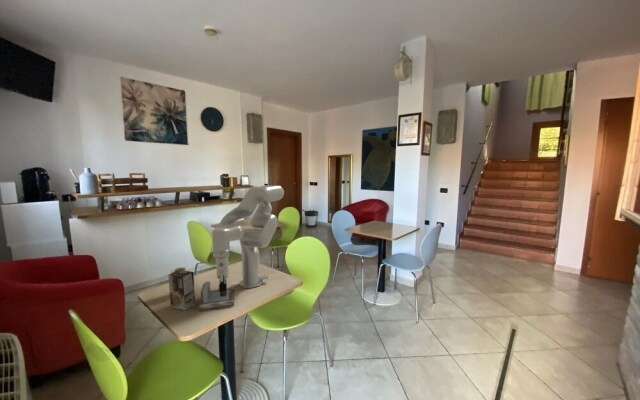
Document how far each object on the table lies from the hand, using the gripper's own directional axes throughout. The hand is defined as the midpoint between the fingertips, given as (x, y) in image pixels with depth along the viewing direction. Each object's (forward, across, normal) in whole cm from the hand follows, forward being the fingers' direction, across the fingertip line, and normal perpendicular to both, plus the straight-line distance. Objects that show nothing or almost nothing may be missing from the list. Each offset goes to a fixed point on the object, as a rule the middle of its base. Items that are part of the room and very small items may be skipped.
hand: (223, 289), depth 128 cm
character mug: (+6, +14, +22) cm, 27 cm away
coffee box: (+6, 0, +18) cm, 19 cm away
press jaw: (+4, 0, +3) cm, 6 cm away
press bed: (+6, 0, +2) cm, 6 cm away
